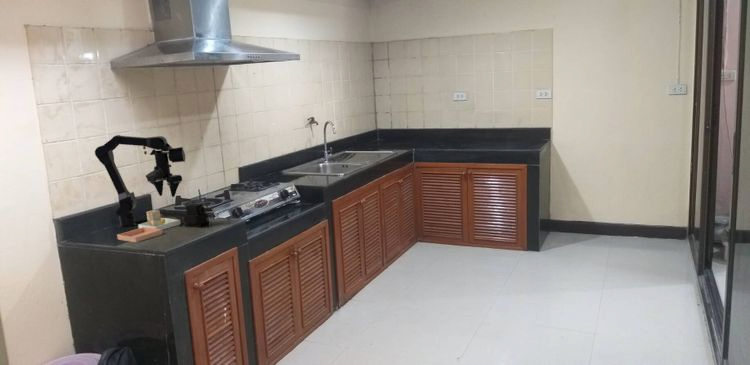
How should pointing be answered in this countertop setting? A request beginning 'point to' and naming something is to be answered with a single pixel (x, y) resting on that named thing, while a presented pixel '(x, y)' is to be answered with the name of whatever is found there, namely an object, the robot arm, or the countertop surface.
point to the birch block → (154, 218)
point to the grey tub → (167, 224)
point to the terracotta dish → (139, 234)
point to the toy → (196, 216)
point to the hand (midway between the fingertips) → (167, 196)
